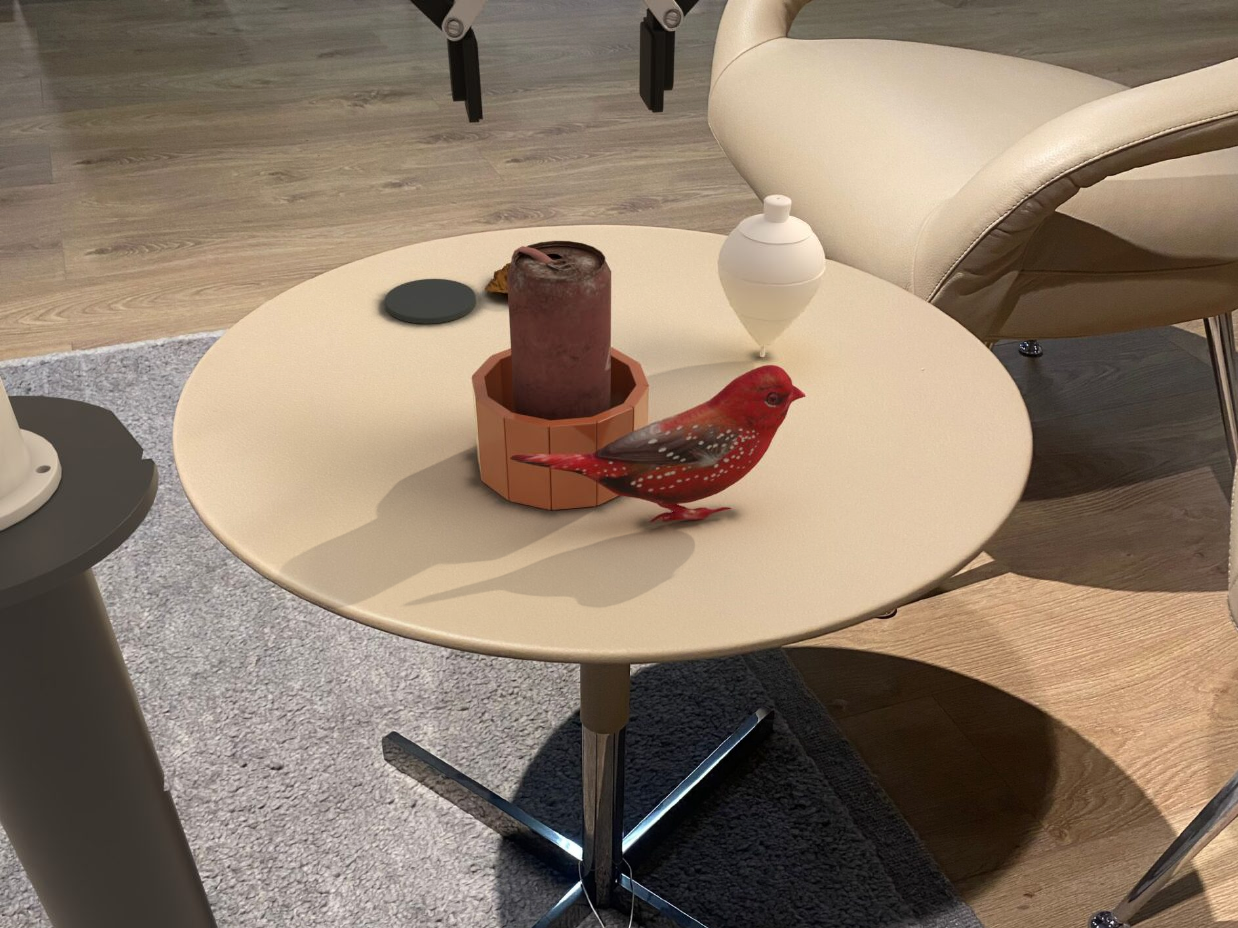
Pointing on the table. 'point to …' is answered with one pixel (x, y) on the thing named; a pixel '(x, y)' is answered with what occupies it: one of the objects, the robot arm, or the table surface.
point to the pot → (550, 435)
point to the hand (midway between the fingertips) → (563, 109)
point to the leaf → (499, 281)
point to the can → (560, 330)
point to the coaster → (430, 301)
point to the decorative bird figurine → (690, 446)
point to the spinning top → (770, 270)
